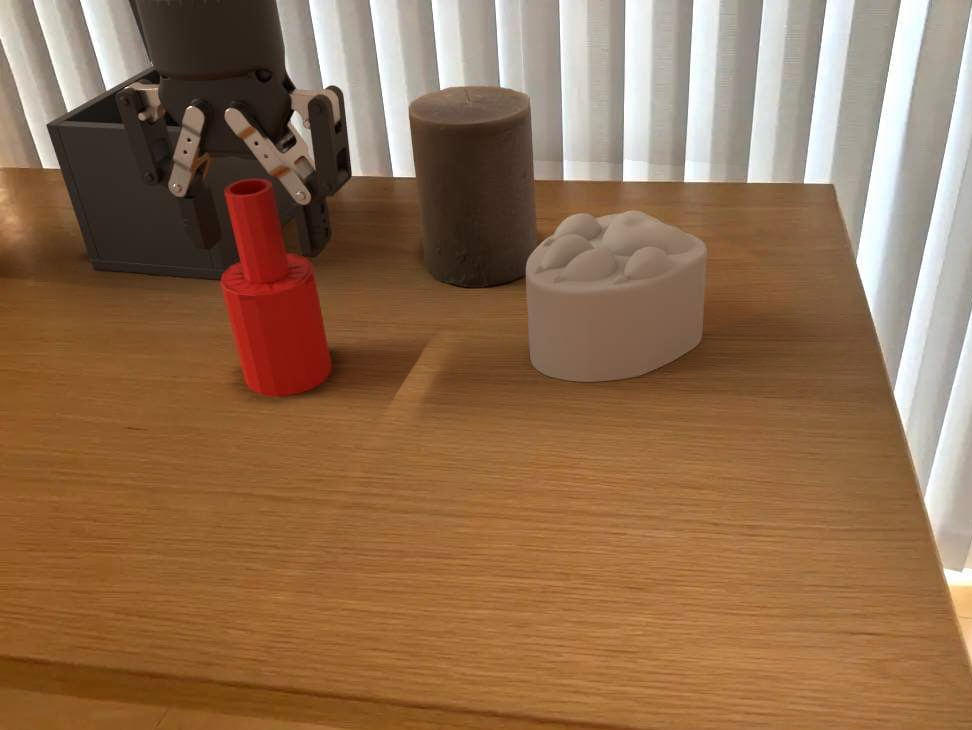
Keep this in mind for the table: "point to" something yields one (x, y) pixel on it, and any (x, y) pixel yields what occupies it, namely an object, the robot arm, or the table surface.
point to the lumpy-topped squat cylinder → (614, 297)
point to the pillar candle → (475, 183)
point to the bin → (143, 195)
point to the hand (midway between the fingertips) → (261, 247)
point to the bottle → (272, 299)
